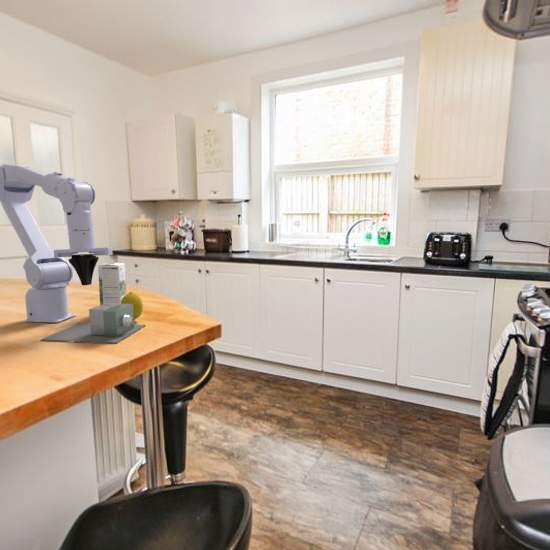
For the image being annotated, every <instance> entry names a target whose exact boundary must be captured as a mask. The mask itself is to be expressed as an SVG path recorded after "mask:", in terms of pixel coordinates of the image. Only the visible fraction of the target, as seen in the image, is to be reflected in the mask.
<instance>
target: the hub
mask: <svg viewBox="0 0 550 550" xmlns="http://www.w3.org/2000/svg"><path fill="white" fill-rule="evenodd" d="M117 305H119V304H101V305H100V304H99V305H97V306H94V307H91V308H89V309H88V313H89V315H88V317H89V323H90V331H91V335H105V333H104V318H103V311H105V310H107V309H110V308H112V307H114V306H117Z"/></svg>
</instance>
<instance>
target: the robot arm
mask: <svg viewBox="0 0 550 550" xmlns="http://www.w3.org/2000/svg"><path fill="white" fill-rule="evenodd" d="M36 186H37V187H41V189H42V191H43V192H44V193H45V194H47V195H49V196H51V197H52V198H55V199H57V200H59V202H60V203H61V206H62V211H63V212H64V213H65V217H66V224H67V233H68V234H67V236H68V243H69V244H68V245H69V248H67V249H66V248H65V249H54V250H52V249H51V247H50V245H49V244H48V242H47V240H46V238H45V236H44V235H43V233H42V232H41V230H40V227H39V226H38V224H37V222H36V220H35V218H34V216H33V215H32V213H31V211H30V209H29V208H28V206H27V204H26V203H27V202H30V201H31V200H32V198H33V195H34V194H33V193H34V191H35V188H36ZM95 199H96V192H95V187H93V185H91V184H90V183H89V182H87V181H84V182H79V181H76V179H75V178H73V177H70V176H69V177H66V176H63V173H62V172H59V171H54V172H50V173H48V174H47V173H44V172H42V171H40V170H38V169H36V168H34V167H30V166H22V165H21V166H19V165H12V164H2V163H0V204H1V207H2V209H3V210H4V212H5V214H6V217H7V218H8V220H9V222H10V224H11V225H12V227H13V229H14V231H15V233H16V235H17V236H18V239H19V240H20V242H21V244H22V246H23V248H24V250H25V252H26V254H27V255H28V257H27V259H26V260H25V262H24V263H23V265H22V268H23V270H24V272H25V277H26V281H27V283H28V284H29V286H31V287H30V288H28V289H27V291H26V293H25V298H24V299H25V308H26V317H27V318H26V319H25V320H24V322H29V323H60V322H63V321H65V320H68V319H70V318H72V317H76V316H77V313H69V302H68V288H67V286H69V285H70V282H71V281H72V279H73V275H74V271H73V269H74V270H75V272H76V274H77V276H78V278H79V281H80V283H81V286H89V285H92V282H93V275H94V271H95V268H96V266H97V263H98V261H99V259H100V258H99V257H100V256H112V255H114V252H113V247H112V246H109V247H108V246H107V247H96V241H95V234H94V233H95V232H94V224H93V215H92V214H93V213H92V205H93V204H94V202H95ZM81 253H83V254H81ZM65 258H68V261H67V260H66V259H65Z"/></svg>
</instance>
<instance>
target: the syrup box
mask: <svg viewBox="0 0 550 550" xmlns="http://www.w3.org/2000/svg"><path fill="white" fill-rule="evenodd" d="M97 273H98V288H99V289H98V291H99V292H98V293H99V305H101V304H121V300H122V298H123V297H124V296H125V295H126V294H127V279H126V264H125V263H124V262H105V263H102V264H100V265H98V266H97Z"/></svg>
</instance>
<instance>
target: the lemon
mask: <svg viewBox="0 0 550 550" xmlns="http://www.w3.org/2000/svg"><path fill="white" fill-rule="evenodd" d="M121 304H133V316H134V321H136V319H138V318H140V316H141V315H142V313H143V307H144V304H143V300H142V299H141V297H140V296H139V295H138V294H136V293H134V292H132V291H130V292H129V293H126V295H125V296H124V297H123V298H122V300H121Z"/></svg>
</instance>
